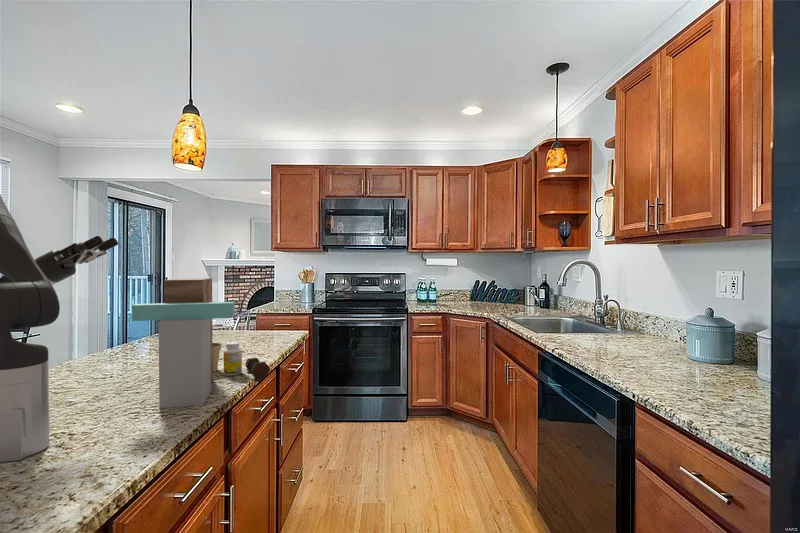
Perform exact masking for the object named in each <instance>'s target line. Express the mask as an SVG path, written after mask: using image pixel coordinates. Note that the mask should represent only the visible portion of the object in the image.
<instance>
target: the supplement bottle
mask: <svg viewBox="0 0 800 533" xmlns="http://www.w3.org/2000/svg"><path fill="white" fill-rule="evenodd" d="M225 345H226V346H225V349H224V350H223V374H224V375H225V376H231V377H233V376H238V375H240V374H241V373H242V372H243V369H242V368H243V359H242V358H243V355H242V353H243V350H242V348H241V347H240V342H238V341H231V342H226V343H225Z"/></svg>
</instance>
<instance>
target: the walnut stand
mask: <svg viewBox="0 0 800 533" xmlns="http://www.w3.org/2000/svg"><path fill="white" fill-rule="evenodd" d="M196 302H213V278H212V277H191V278H190V277H184V278H183V277H182V278H181V277H180V278H179V277H178V278H170V279H164V280H163V303H196ZM212 343H213V319H210V371H211V383H212V381H213V376H214V374H213V373H214V372H213V347H212Z"/></svg>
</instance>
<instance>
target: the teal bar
mask: <svg viewBox="0 0 800 533" xmlns="http://www.w3.org/2000/svg"><path fill="white" fill-rule="evenodd" d="M235 304H236V303H235V301H212V302H196V303H164V302H160V303H157V302H156V303H154V302H153V303H152V302H151V303H136V304H132V305H131V321H132V322H142V321H143V322H148V321H162V320H182V319H212V320H214V319H233V318H234V317H235V316H236V306H235Z"/></svg>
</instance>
